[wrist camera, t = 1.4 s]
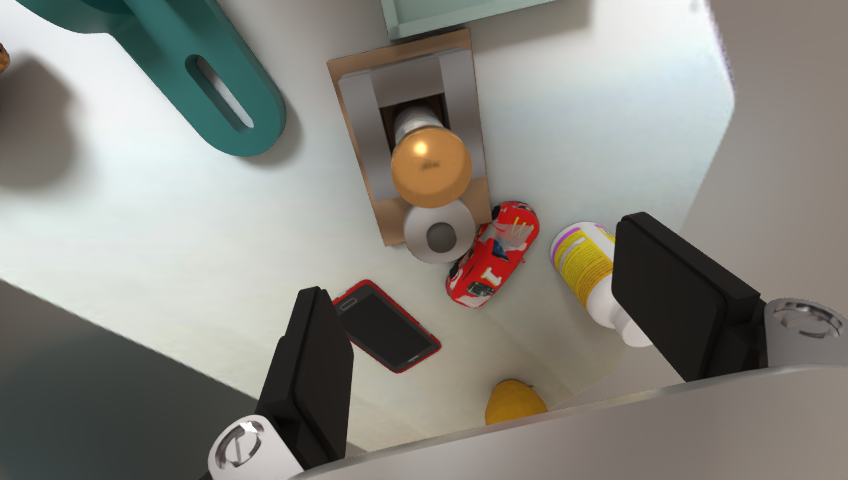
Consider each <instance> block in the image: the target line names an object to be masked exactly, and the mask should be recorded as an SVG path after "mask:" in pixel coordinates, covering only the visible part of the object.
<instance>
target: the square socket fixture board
mask: <svg viewBox="0 0 848 480" xmlns="http://www.w3.org/2000/svg"><path fill="white" fill-rule="evenodd" d="M327 66H328V69H329V72H330V75H331V78H332V82H333V85H334V88H335V91H336V94H337V97H338V100H339V103H340V107H341V110H342V113H343V116H344V119H345V122H346V125H347V129H348V132H349V135H350V138H351V141H352V144H353V147H354V151H355V154H356V157H357V160H358V163H359V166H360V169H361V173H362V176H363V179H364V182H365V185H366V188H367V191H368V195H369V198H370V201H371V204H372V207H373V210H374V213H375V217H376V220H377V223H378V226H379V229H380V232H381V235H382V239H383V242H384V245H385V247H386V246H390V245H394V244H399V243H403V242H406V245H407V247H408V249H409V251H410V252H411V253H412V254H413V255H414V256H415V257H416V258H417V259H419V260H421V261H423V262H426V263H431V264H443V263H448V262H451V261H454V260H456V259H458V258H459V257H461V256H462V255H464V254H465V253H466V252H467V251H468V250H469V248H470V247H471V245H472V243H473V241H474V238H475V233H476V228H475V226H476V225H480V224H485V223H489V222H492V216H491V207H490V199H489V190H488V182H487V173H486V165H485V156H484V148H483V139H482V131H481V122H480V114H479V105H478V97H477V88H476V80H475V71H474V63H473V54H472V46H471V37H470V29H469V28H462V29H457V30H453V31H449V32H445V33H441V34H437V35H433V36H429V37H425V38H420V39H416V40H412V41H408V42H404V43H400V44H396V45H392V46H388V47H383V48H379V49H375V50H371V51H367V52H363V53H359V54H355V55H350V56H346V57H342V58H338V59H334V60H330V61H328V62H327ZM418 98H422V99H424V100H426V101H427V102H428V103H429V104H430V106H431V107H432V109H433V110H434V112H435V114H436V115H437V117H438V119H439V120H440V122H441V124H442V125H443V127H444V128H447V129H449V130H450V131H452V132H453V133H455V134H456V135H457V136H458V137H459V138H460V140H461V141H462V142H463V144H464V145H465V147H466V148H467V150H468V152H469V154H470V157H471V161H472V174H471V179H470V182H469V184H468V186H467V188H466V189H465V191H464V192H463V193H462V194H461V195H460V196H459V197H458V198H457V199H456V200H455V201H453V202H451V203H450V204H448V205H445V206H442V207H439V208H430V209H429V208H421V207H417V206H414V205H412V204H410V203H409V202H407V201H406V200H404V199H403V198H402V197H401V196H400V195H399V193H398V192H397V190H396V188H395V186H394V184H393V180H392V174H391V157H392V153H393V150H394V148H395V146H396V142H395V135H394V128H393V119H392V118H393V112H394V109H395V107H396V106H397V104H398V103H402V102H406V101H410V100H414V99H418Z"/></svg>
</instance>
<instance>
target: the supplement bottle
mask: <svg viewBox="0 0 848 480" xmlns="http://www.w3.org/2000/svg"><path fill="white" fill-rule="evenodd" d="M614 248H615V237H614V236H612V235H611V234H610V233H609V232H608V231H607V230H606V229H605V228H603V227H602V226H601V225H599V224H597V223H594V222H579V223H575V224H573V225H570V226H568V227H567V228H565V229H564V230H562V231H561V232H560V233H559V234H558V235H557V237H556V238H555V239H554V241H553V243H552V245H551V249H550V258H551V261H552V263H553V265H554V266H555V268H556V269H557V270H558V272H559V273H560V275H561V276H562V277H563V279H564V280H565V281H566V283H567V284H568V285H569V287H570V288H571V290H572V291H573V292H574V294H575V295H576V296H577V298H578V299H579V301H580V302H581V303H582V305H583V306H584V307H585V309H586V310H587V312H588V313H589V315H590V316H591V317H592V318H593V320H594V321H596V322H597V323H598V324H600V325H602V326H604V327H607V328H612V329H615V330H616V332H617V334H618V335H619V336H620V337H621V339H622V340H623V341H624V342H625V343H626V344H627V345H629V346H633V347H645V346H649V345H652V344H653V343H652V342H651V341H650V340H649V338H648V337H647V336H646V335H645V334H644V333H643V331H642V330H641V329H640V328H639V327H638V326H637V324H636V323H635V322H634V321H633V320H632V318H631V317H630V316H629V315H628V314H627V313H626V311H625V310H624V309H623V308H622V307H621V306H620V304H619V303H618V302H617V301H616V300H615V298H614V297H613V295H612V292H611V281H612V270H613V259H614Z"/></svg>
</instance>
